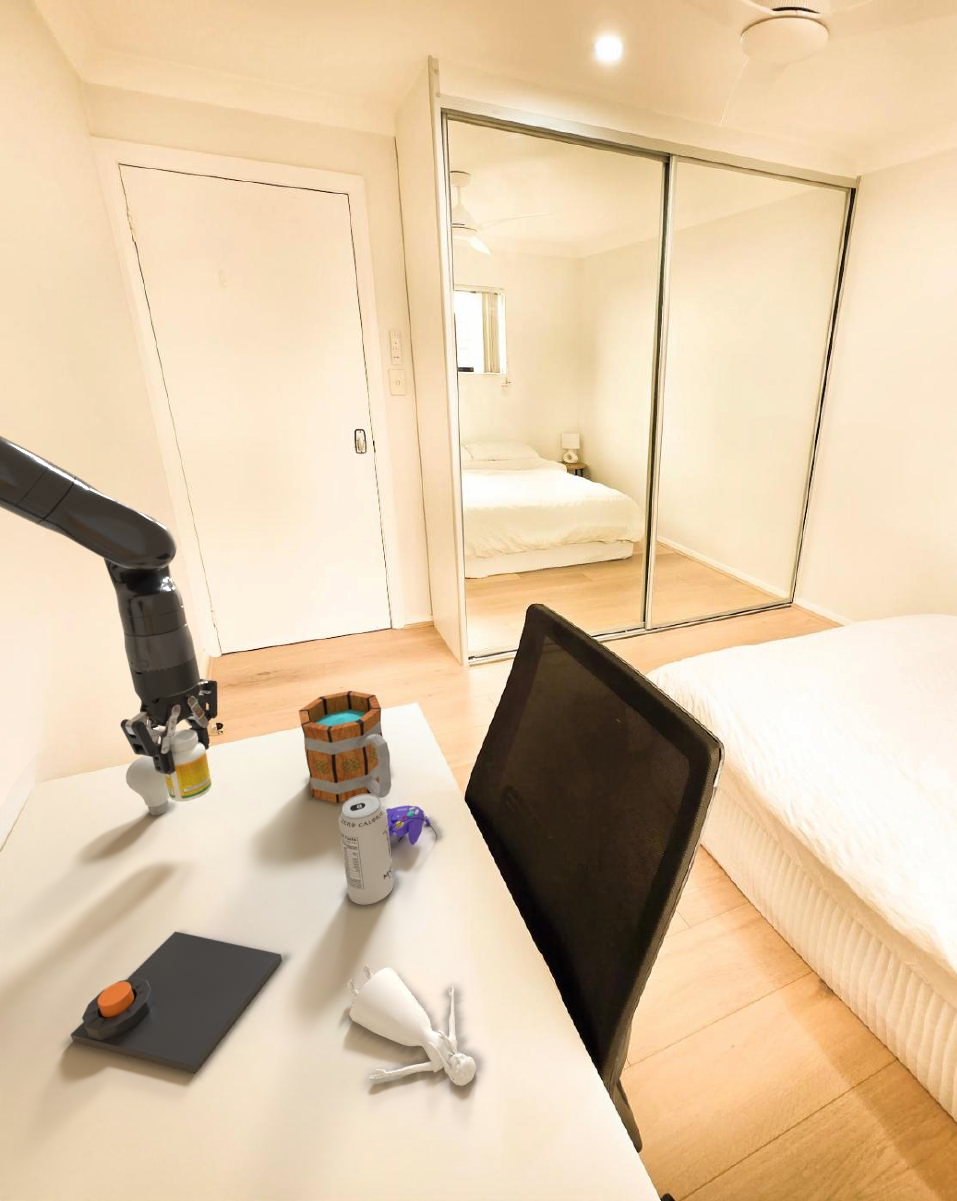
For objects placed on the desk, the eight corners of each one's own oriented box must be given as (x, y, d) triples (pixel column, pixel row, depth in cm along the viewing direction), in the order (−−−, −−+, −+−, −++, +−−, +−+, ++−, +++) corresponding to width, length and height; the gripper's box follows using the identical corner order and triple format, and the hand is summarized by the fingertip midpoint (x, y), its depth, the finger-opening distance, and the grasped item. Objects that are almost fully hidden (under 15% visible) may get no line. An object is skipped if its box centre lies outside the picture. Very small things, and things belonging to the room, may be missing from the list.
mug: (293, 785, 105) (281, 711, 100) (362, 752, 115) (354, 683, 110) (354, 835, 94) (343, 755, 89) (424, 794, 104) (419, 719, 99)
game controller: (346, 843, 87) (378, 790, 95) (372, 877, 91) (401, 824, 99) (402, 838, 84) (431, 784, 93) (427, 874, 88) (452, 819, 96)
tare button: (94, 1014, 63) (90, 1003, 62) (119, 990, 66) (115, 979, 65) (116, 1020, 63) (112, 1008, 62) (140, 995, 65) (137, 984, 65)
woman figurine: (397, 929, 73) (510, 1015, 64) (398, 954, 74) (508, 1042, 66) (310, 1007, 63) (429, 1120, 55) (313, 1034, 65) (430, 1148, 57)
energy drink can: (398, 899, 82) (389, 811, 77) (353, 916, 79) (340, 826, 74) (389, 870, 87) (380, 785, 82) (346, 885, 84) (333, 799, 79)
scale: (74, 1047, 63) (65, 1024, 62) (178, 942, 75) (172, 921, 74) (196, 1078, 60) (189, 1055, 59) (283, 965, 73) (279, 944, 71)
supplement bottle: (160, 802, 87) (147, 745, 83) (185, 779, 92) (174, 725, 88) (197, 803, 87) (186, 747, 83) (220, 781, 92) (209, 727, 89)
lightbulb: (174, 797, 101) (160, 742, 97) (189, 812, 97) (176, 755, 94) (131, 816, 96) (115, 759, 92) (146, 832, 93) (130, 773, 89)
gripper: (182, 634, 89) (202, 732, 95) (88, 675, 76) (117, 786, 81) (226, 640, 88) (243, 738, 93) (138, 682, 75) (164, 794, 80)
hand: (184, 760), depth 87 cm, fingers closed on supplement bottle, 5 cm apart
